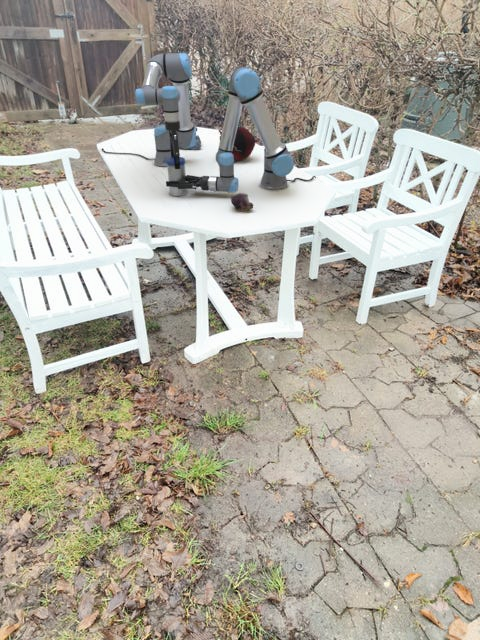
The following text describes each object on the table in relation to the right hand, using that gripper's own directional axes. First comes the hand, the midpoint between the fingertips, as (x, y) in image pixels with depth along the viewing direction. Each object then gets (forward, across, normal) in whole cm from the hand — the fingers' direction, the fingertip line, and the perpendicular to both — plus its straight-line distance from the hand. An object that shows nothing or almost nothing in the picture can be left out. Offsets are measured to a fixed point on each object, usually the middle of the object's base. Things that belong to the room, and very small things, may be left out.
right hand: (169, 180), depth 243 cm
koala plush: (+21, +97, -7) cm, 100 cm away
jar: (-4, 0, -7) cm, 8 cm away
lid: (-4, 0, +11) cm, 12 cm away
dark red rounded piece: (-21, +73, -7) cm, 76 cm away
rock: (-43, -17, -7) cm, 47 cm away
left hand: (-4, 0, +8) cm, 9 cm away
